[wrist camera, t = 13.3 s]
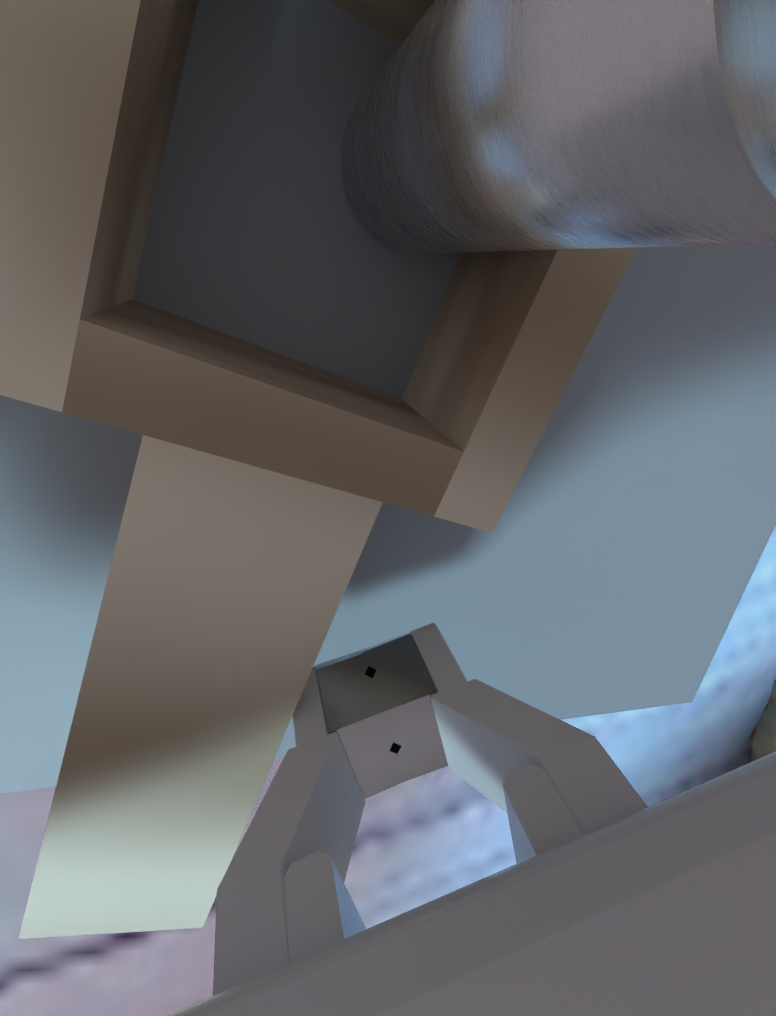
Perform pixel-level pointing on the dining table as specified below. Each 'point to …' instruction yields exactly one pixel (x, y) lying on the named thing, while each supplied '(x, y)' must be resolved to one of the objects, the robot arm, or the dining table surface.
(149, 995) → the dining table surface
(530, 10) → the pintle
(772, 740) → the pastry
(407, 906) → the dining table surface
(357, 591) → the board
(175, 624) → the link
